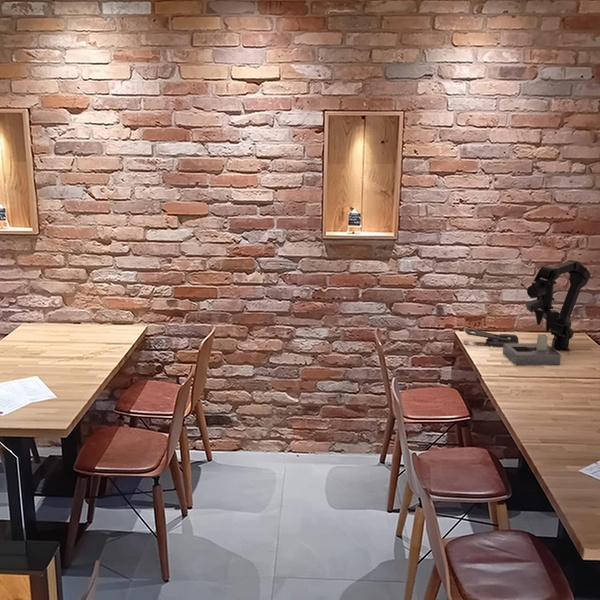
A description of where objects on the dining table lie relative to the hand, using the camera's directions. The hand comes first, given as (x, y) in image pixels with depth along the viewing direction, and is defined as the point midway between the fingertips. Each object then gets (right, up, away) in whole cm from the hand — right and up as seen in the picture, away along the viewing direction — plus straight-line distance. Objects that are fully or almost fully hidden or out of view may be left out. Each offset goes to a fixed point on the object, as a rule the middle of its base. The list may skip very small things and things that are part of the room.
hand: (542, 327), depth 327 cm
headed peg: (-2, -13, -3) cm, 13 cm away
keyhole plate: (-6, -14, -3) cm, 16 cm away
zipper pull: (-19, -9, +16) cm, 27 cm away
